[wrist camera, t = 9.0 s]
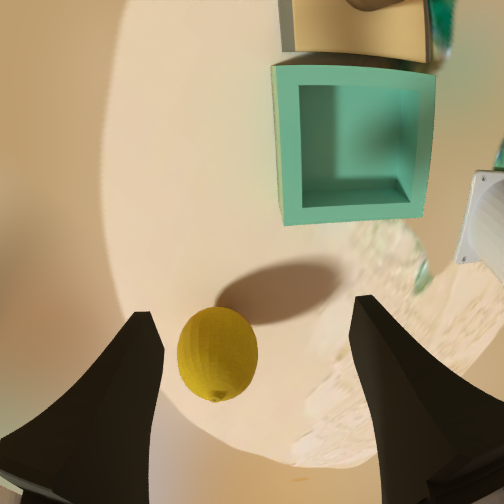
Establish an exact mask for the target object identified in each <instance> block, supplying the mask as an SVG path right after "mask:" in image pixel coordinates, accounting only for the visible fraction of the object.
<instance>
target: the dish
mask: <svg viewBox="0 0 504 504" xmlns="http://www.w3.org/2000/svg"><path fill="white" fill-rule="evenodd" d="M270 68H271V81H272V95H273V110H274V126H275V143H276V161H277V180H278V201H279V207H280V211H281V216H282V220H283V224H284V226H291V225H305V224H320V223H335V222H351V221H367V220H385V219H403V218H421V217H422V215H423V210H424V204H425V198H426V190H427V184H428V177H429V169H430V160H431V151H432V140H433V127H434V113H435V85H436V75H430V74H423V73H416V72H409V71H401V70H393V69H383V68H372V67H358V66H338V65H280V66H270Z"/></svg>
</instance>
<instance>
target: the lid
mask: <svg viewBox="0 0 504 504" xmlns="http://www.w3.org/2000/svg"><path fill="white" fill-rule="evenodd" d="M292 6H293V20H294V37H295V52H331V53H347V54H359V55H369V56H378V57H386V58H394V59H401V60H407V61H413V62H419V63H426V51H425V22H424V7H423V0H292Z"/></svg>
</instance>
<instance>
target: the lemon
mask: <svg viewBox="0 0 504 504" xmlns="http://www.w3.org/2000/svg"><path fill="white" fill-rule="evenodd" d="M177 360H178V367H179V372H180V375H181V378H182V380H183V381H184V383H185V385H186V386H187V387H188V388H189V389H190V390H191V391H192V392H193V393H194V394H196V395H197V396H199V397H201V398H203V399H206V400H210V401H211V402H219V401H225V400H229V399H232V398H234V397H236V396H237V395H239V394H241V393H242V392H243V391H244V390H245V389H246V388H247V387H248V385H249V384H250V383H251V381H252V378H253V376H254V373H255V370H256V366H257V360H258V348H257V340H256V336H255V334H254V331H253V329H252V327H251V325H250V324H249V322H248V321H247V320H246V319H245V318H244V317H243V316H242V315H240V314H239V313H237V312H236V311H234V310H231V309H229V308H224V307H211V308H207V309H204V310H202V311H199V312H198V313H196V314H195V315H194V316H192V317H191V318H190V319H189V321H188V322H187V323H186V325H185V326H184V328H183V330H182V332H181V335H180V338H179V342H178V347H177Z"/></svg>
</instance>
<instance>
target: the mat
mask: <svg viewBox="0 0 504 504" xmlns="http://www.w3.org/2000/svg"><path fill="white" fill-rule="evenodd" d="M278 7H279V18H280V30H281V42H282V52H295V37H294V20H293V6H292V0H278ZM423 7H424V22H425V51H426V62H431V50H430V28H429V14H428V3H427V0H423Z"/></svg>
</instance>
